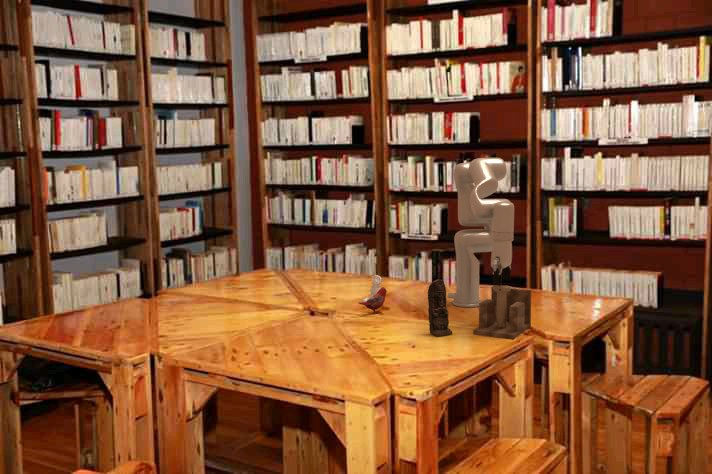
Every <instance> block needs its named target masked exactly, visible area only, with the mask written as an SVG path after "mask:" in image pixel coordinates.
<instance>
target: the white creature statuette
mask: <svg viewBox="0 0 712 474" xmlns="http://www.w3.org/2000/svg"><path fill="white" fill-rule="evenodd" d="M384 280H385V278H384V277H383V278H382V277H381V276H380V275H379V274H375V275H372V276H371V280H370V281H371V286H370V290H369V292H370V295H369V296H367V297H365V298H363V299H362V300H361V302H366V301H367V300H368V299H370V298H371V297H372V296H374V295H375V294H377V292H378V291H379V290H380V289H381V288H382V287H381V286H380V285H382V283H383V282H384Z"/></svg>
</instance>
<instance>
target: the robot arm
mask: <svg viewBox="0 0 712 474" xmlns="http://www.w3.org/2000/svg"><path fill="white" fill-rule="evenodd" d="M507 171H508V167H507V164H506V162H505V160H504V159H502V158H501V157H477V158H475V159H472V161H470V162H462V163H461V162H460V163H458V164H456V165H455V166H454V169H453V181H454V184H455V187H456V190H457V220H458V223H459V225H460V226H462V227H483V229H482V228H479V229H477V228H474V229H461V230H459V231H457V232H456V233H455V235H454V237H453V240H454V247H455V248H454V249H455V256H456V257H455V258H456V259H455V261H456V263H455V264H456V271H455V272H456V274H455V275H456V280H455V281H456V284H455V293H453V292H448V293H447V298H448V299H453V300H452V305H453V306H456V307H460V308H476V307H477V308H478V307H479V303H480V302H482V301H483V300H480V261H479V259H478V258H477V257H476V255H475V254H474V253H489V252H491V254H490V255H491V256H490V267H491V268H492V286H495V285H498V286H501V285H503V283H502V282H503V281H510V280H512V278H511V277H512V276H511V275H512V274H511V273H512V271H511V270H512V265H511V264H512V259H513V244H512V242H513V241H514V232H515V231H514V229H515V227H514V226H515V204H514V203H513V202H511V201H510V200H509V199H506V198H487V197H489V196H491V195H493V194H494V193H495V192H496V191H497V190H498V188H499V181H502V180H504V178H506V175H507Z"/></svg>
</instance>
